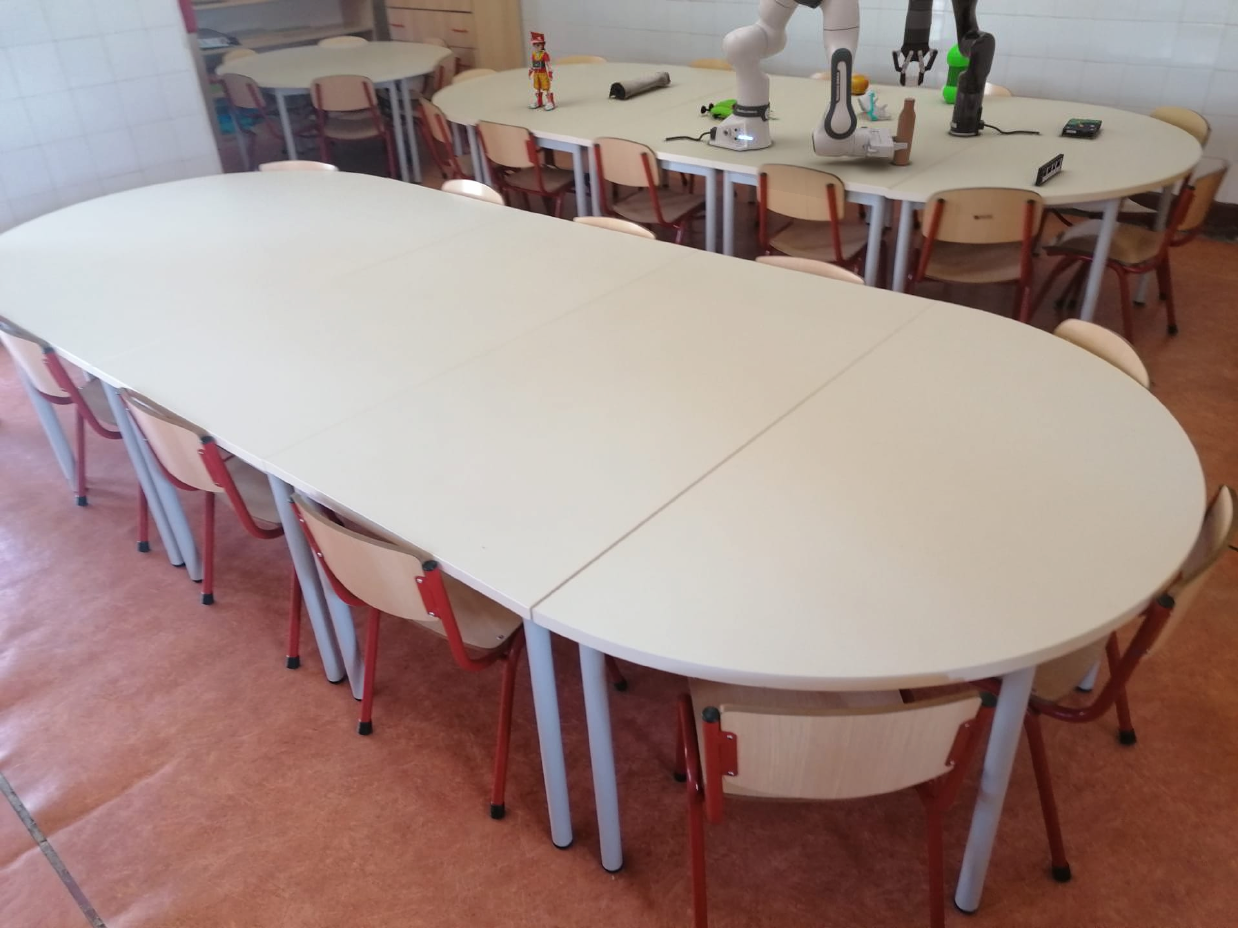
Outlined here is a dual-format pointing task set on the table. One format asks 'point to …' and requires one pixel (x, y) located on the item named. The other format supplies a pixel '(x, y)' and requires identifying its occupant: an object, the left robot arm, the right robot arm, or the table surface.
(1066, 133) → the disk drive
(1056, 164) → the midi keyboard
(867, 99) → the anatomical model
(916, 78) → the cap
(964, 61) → the green dumbbell
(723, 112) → the toy
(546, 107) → the toy
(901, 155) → the bottle
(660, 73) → the rolled mat
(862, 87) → the fruit
